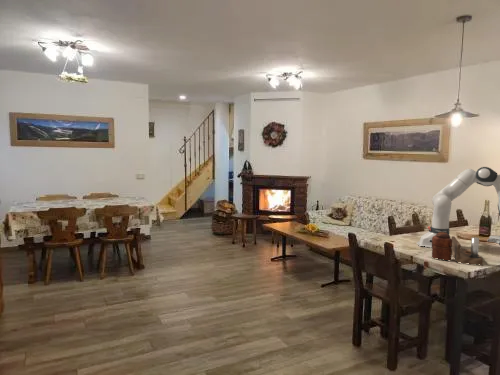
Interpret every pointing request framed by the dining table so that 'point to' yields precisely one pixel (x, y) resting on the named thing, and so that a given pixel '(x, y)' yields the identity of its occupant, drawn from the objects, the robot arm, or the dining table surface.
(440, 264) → the dining table surface
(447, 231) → the robot arm
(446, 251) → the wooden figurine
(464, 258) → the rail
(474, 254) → the peg
